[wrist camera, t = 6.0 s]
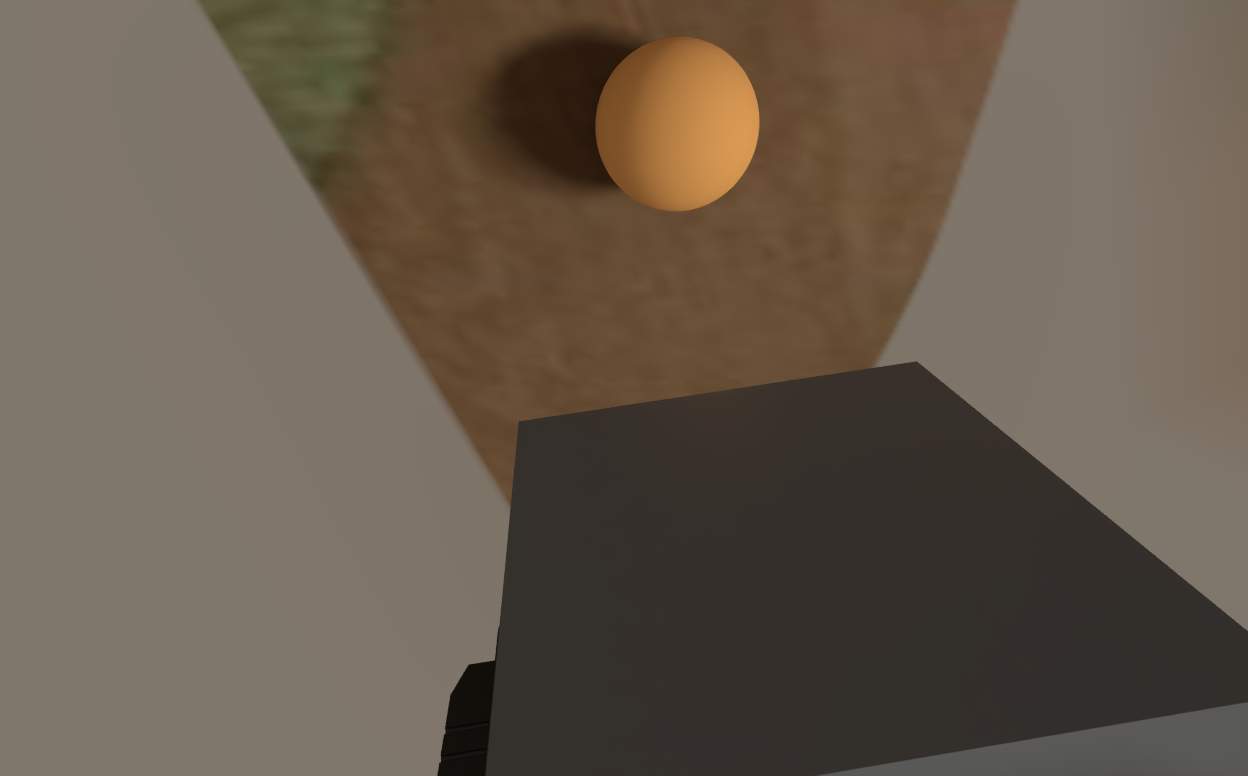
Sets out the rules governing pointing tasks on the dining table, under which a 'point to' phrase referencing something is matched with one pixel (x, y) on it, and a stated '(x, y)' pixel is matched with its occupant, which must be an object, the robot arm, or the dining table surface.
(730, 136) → the ball
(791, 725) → the matte gray cube
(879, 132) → the dining table surface
